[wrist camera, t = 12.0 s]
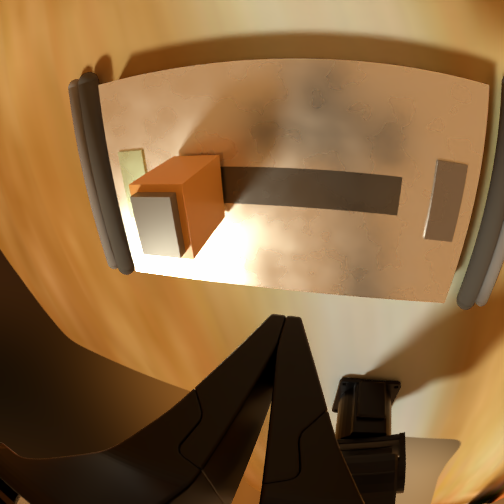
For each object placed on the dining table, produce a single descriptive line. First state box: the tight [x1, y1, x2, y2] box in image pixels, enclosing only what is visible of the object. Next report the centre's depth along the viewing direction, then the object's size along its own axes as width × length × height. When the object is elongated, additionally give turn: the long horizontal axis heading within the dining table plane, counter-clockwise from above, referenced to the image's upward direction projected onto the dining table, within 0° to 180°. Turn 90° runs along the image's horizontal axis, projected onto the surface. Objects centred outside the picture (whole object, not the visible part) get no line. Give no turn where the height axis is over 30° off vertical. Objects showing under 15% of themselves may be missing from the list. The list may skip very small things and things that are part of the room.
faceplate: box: [98, 58, 489, 303], centre depth 19 cm, size 15×24×2 cm, turn 93°
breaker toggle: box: [129, 155, 225, 259], centre depth 17 cm, size 4×3×6 cm
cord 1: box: [68, 72, 135, 275], centre depth 23 cm, size 18×3×2 cm, turn 3°
